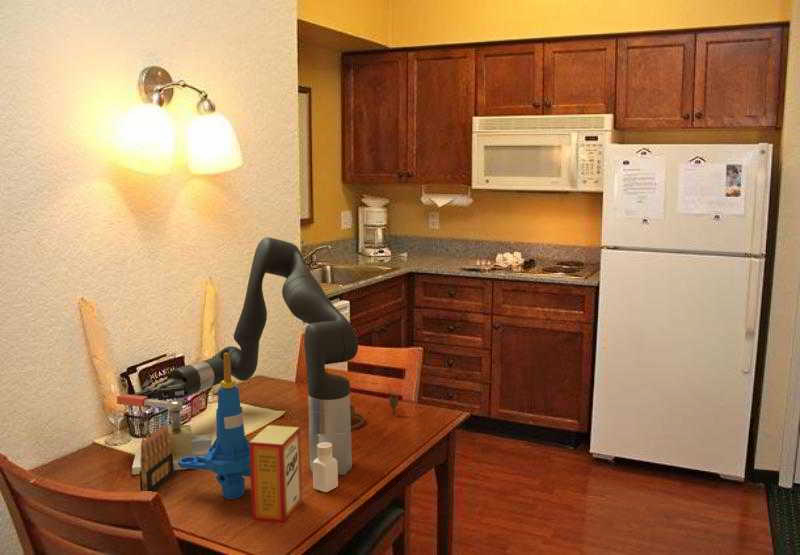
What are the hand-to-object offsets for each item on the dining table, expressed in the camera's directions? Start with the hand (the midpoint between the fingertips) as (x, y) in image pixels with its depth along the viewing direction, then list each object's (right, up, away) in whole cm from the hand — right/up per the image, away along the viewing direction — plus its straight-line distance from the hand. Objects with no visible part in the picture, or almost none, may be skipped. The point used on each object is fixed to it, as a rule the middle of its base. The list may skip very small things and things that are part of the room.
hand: (135, 398), depth 171 cm
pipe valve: (+11, -12, -3) cm, 17 cm away
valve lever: (+4, -1, -2) cm, 5 cm away
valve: (+24, -17, -18) cm, 34 cm away
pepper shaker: (+46, -16, -16) cm, 51 cm away
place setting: (+50, -11, +21) cm, 56 cm away
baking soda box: (+37, -18, -26) cm, 49 cm away
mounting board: (+11, -14, -3) cm, 18 cm away
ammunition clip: (+10, -16, -14) cm, 23 cm away
